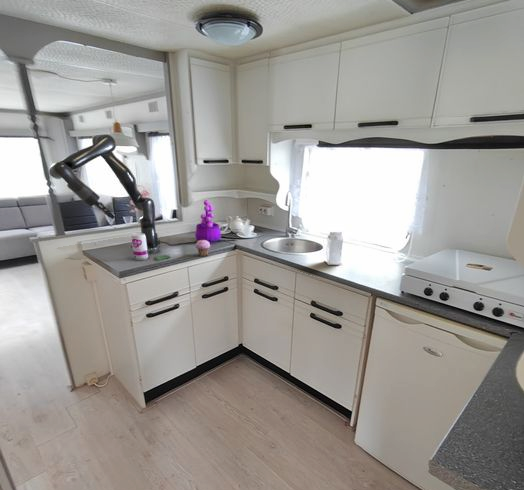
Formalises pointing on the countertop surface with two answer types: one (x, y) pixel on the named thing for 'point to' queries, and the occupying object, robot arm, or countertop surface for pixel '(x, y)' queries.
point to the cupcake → (203, 247)
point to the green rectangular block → (161, 257)
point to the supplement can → (139, 246)
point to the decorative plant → (207, 226)
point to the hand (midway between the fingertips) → (112, 217)
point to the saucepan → (152, 249)
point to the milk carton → (334, 248)
